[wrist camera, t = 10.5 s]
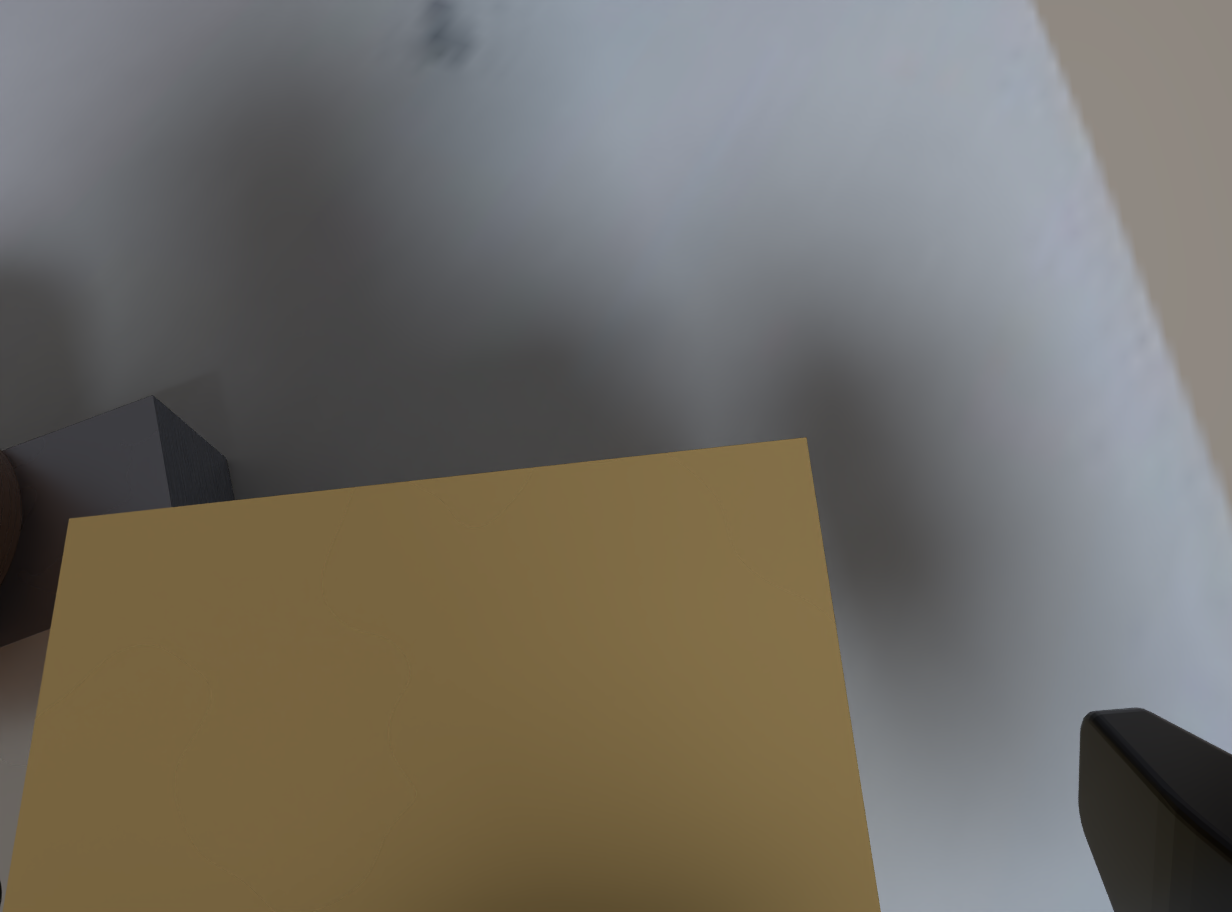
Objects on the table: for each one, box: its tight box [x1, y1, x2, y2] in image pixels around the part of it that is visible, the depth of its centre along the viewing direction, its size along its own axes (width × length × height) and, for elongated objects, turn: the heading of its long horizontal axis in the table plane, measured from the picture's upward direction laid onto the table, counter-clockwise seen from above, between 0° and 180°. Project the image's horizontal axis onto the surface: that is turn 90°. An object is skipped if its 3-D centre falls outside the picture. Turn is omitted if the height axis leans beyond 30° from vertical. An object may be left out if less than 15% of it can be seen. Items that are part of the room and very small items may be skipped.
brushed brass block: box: [3, 437, 881, 912], centre depth 11 cm, size 3×5×10 cm, turn 94°
